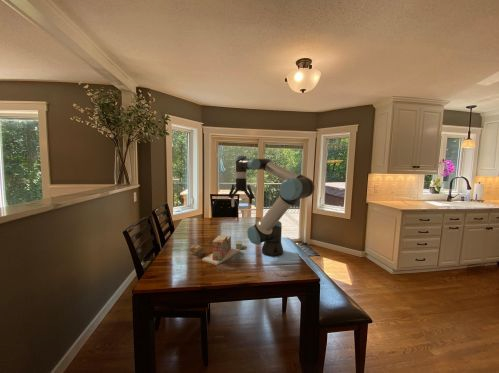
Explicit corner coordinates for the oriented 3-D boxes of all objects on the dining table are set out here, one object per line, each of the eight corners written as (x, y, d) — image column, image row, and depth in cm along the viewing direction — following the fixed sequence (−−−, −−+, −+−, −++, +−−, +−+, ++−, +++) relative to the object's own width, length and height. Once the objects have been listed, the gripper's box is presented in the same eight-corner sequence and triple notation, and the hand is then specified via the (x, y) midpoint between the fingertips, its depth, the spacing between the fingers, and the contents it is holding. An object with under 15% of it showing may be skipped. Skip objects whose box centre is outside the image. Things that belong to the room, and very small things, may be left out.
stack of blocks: (222, 247, 165) (222, 231, 164) (231, 248, 164) (231, 231, 163) (212, 259, 144) (212, 241, 143) (221, 260, 143) (221, 241, 142)
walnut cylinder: (206, 255, 154) (206, 247, 153) (201, 258, 150) (201, 249, 149) (201, 254, 156) (201, 245, 155) (196, 256, 152) (196, 247, 151)
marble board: (240, 251, 162) (240, 249, 162) (216, 265, 140) (216, 263, 140) (226, 247, 168) (226, 246, 168) (202, 260, 146) (202, 258, 146)
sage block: (242, 245, 173) (242, 240, 173) (241, 249, 166) (241, 244, 166) (236, 245, 173) (236, 240, 173) (236, 249, 166) (236, 243, 166)
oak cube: (200, 252, 159) (200, 245, 158) (196, 255, 154) (196, 248, 154) (193, 251, 160) (193, 244, 160) (190, 254, 156) (189, 247, 155)
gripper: (259, 178, 158) (259, 208, 160) (229, 177, 170) (229, 205, 172) (254, 178, 152) (254, 210, 154) (223, 177, 163) (223, 206, 165)
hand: (241, 207), depth 163 cm, fingers open, 13 cm apart
